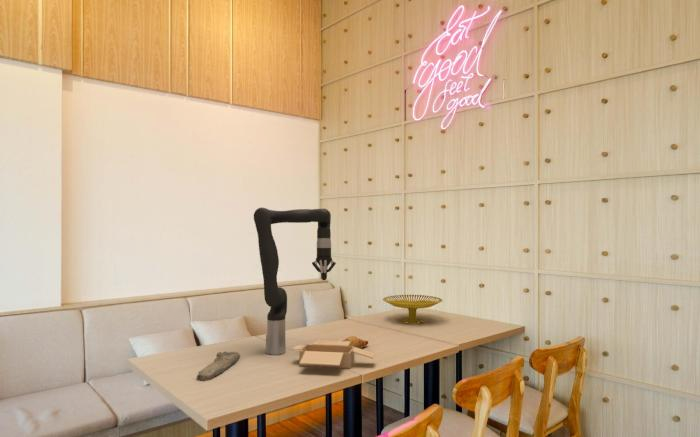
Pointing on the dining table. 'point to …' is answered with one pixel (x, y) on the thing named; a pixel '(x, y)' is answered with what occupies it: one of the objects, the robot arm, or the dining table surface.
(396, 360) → the dining table surface
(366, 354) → the flap far
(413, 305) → the yellow pedestal fruit bowl
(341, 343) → the carton
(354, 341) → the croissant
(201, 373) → the long grey stone
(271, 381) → the dining table surface
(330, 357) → the flap near
